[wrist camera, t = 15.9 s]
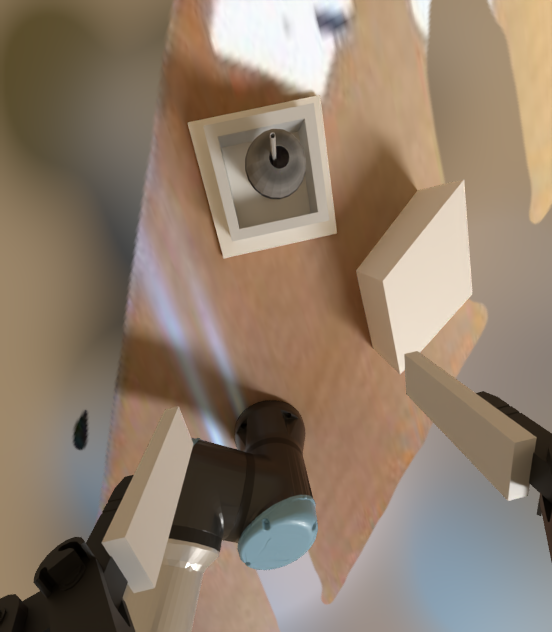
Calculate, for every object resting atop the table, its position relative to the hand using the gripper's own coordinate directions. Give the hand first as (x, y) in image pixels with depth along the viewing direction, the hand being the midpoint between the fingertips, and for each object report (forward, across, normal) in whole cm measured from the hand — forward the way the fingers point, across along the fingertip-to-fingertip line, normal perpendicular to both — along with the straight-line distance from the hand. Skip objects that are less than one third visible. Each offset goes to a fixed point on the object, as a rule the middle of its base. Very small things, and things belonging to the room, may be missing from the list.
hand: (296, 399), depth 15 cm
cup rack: (+35, -4, -16) cm, 38 cm away
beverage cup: (+34, -4, -16) cm, 38 cm away
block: (+35, -24, +4) cm, 43 cm away
